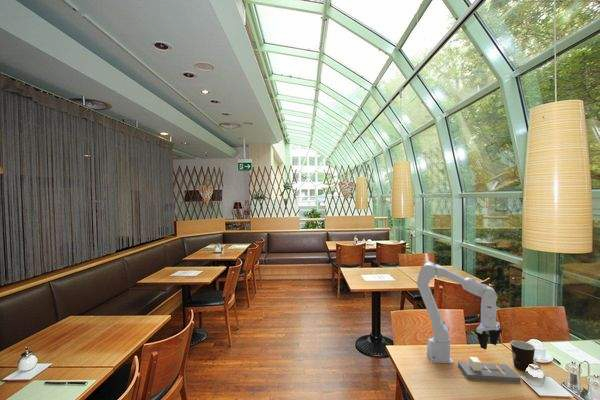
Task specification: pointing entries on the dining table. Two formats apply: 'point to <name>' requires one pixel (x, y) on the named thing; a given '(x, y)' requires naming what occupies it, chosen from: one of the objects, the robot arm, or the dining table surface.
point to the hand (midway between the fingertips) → (488, 346)
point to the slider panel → (490, 372)
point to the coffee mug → (522, 354)
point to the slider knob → (475, 363)
